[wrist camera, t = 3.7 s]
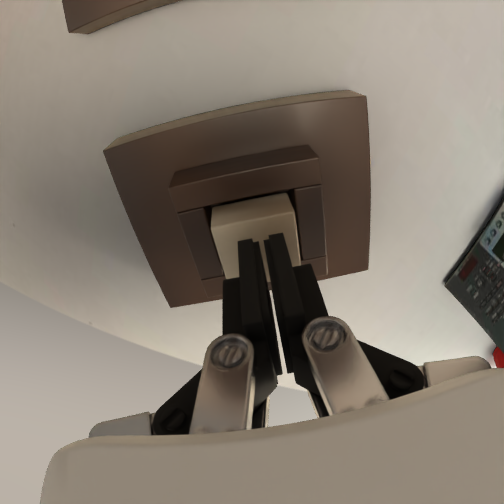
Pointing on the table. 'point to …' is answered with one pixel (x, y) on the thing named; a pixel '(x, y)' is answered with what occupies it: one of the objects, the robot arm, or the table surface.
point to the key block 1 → (103, 12)
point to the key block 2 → (248, 184)
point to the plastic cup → (498, 358)
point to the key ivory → (253, 229)
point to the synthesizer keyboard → (484, 279)
